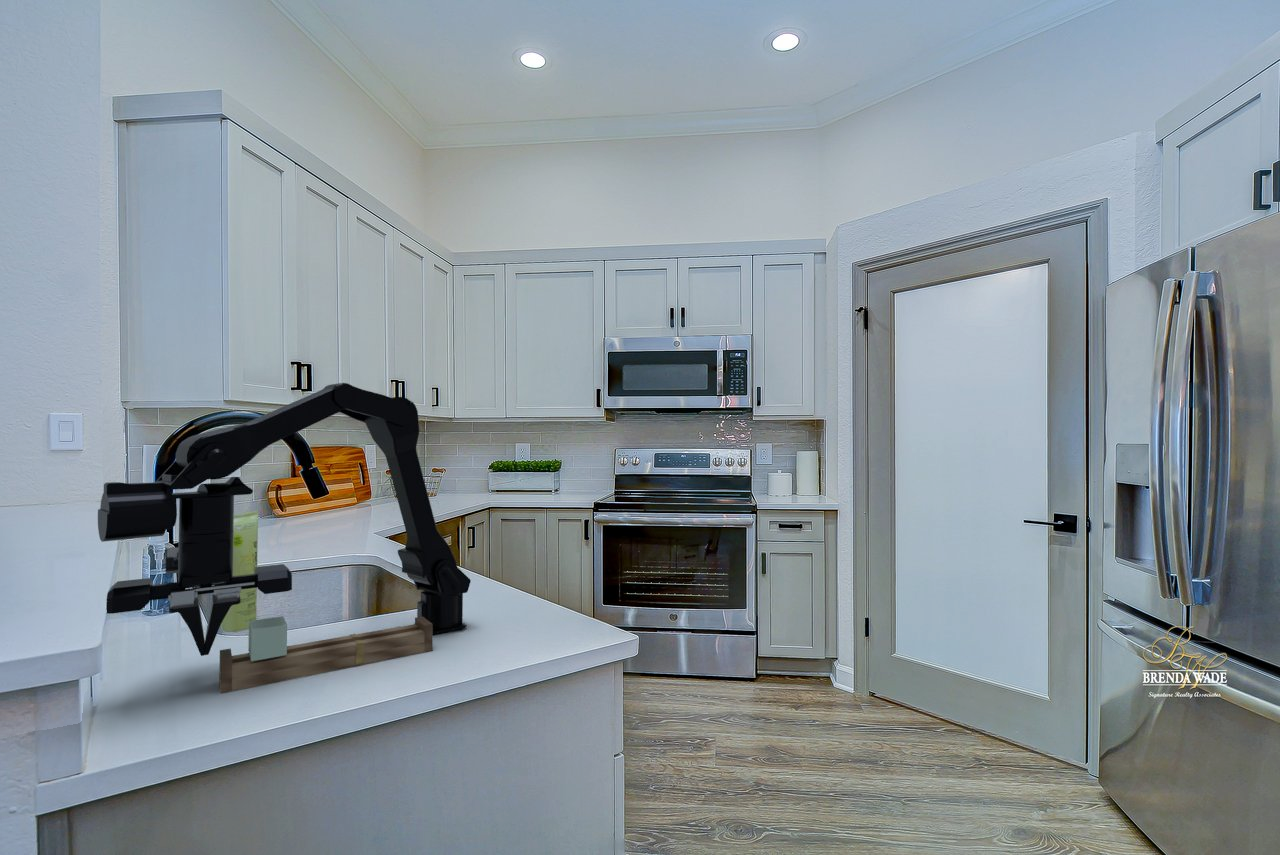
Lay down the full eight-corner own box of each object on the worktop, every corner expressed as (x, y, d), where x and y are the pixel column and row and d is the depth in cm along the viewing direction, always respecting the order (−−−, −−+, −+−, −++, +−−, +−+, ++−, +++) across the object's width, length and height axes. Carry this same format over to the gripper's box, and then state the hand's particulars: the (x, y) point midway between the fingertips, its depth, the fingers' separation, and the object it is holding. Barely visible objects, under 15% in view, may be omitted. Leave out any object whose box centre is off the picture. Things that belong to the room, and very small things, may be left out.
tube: (256, 630, 101) (258, 513, 102) (220, 635, 98) (222, 515, 99) (256, 622, 106) (258, 510, 106) (221, 626, 103) (223, 512, 104)
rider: (282, 656, 84) (282, 616, 84) (286, 667, 80) (287, 624, 80) (248, 662, 82) (248, 621, 82) (250, 673, 78) (251, 630, 78)
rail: (422, 641, 96) (422, 616, 96) (432, 650, 91) (432, 624, 91) (219, 680, 80) (219, 649, 80) (220, 693, 76) (220, 661, 76)
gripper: (283, 519, 89) (282, 625, 89) (117, 530, 78) (115, 651, 78) (293, 528, 80) (291, 646, 80) (107, 542, 69) (104, 679, 69)
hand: (204, 654), depth 77 cm, fingers closed
